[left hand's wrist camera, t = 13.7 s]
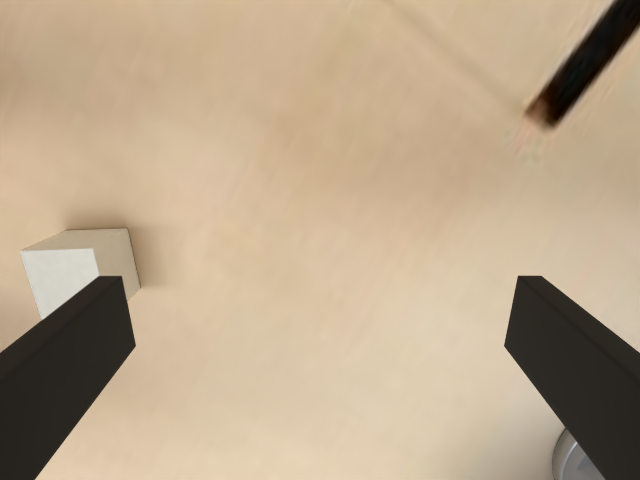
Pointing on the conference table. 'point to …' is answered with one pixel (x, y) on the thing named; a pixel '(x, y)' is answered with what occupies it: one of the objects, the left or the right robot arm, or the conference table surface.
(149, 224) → the conference table surface
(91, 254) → the block
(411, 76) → the conference table surface
